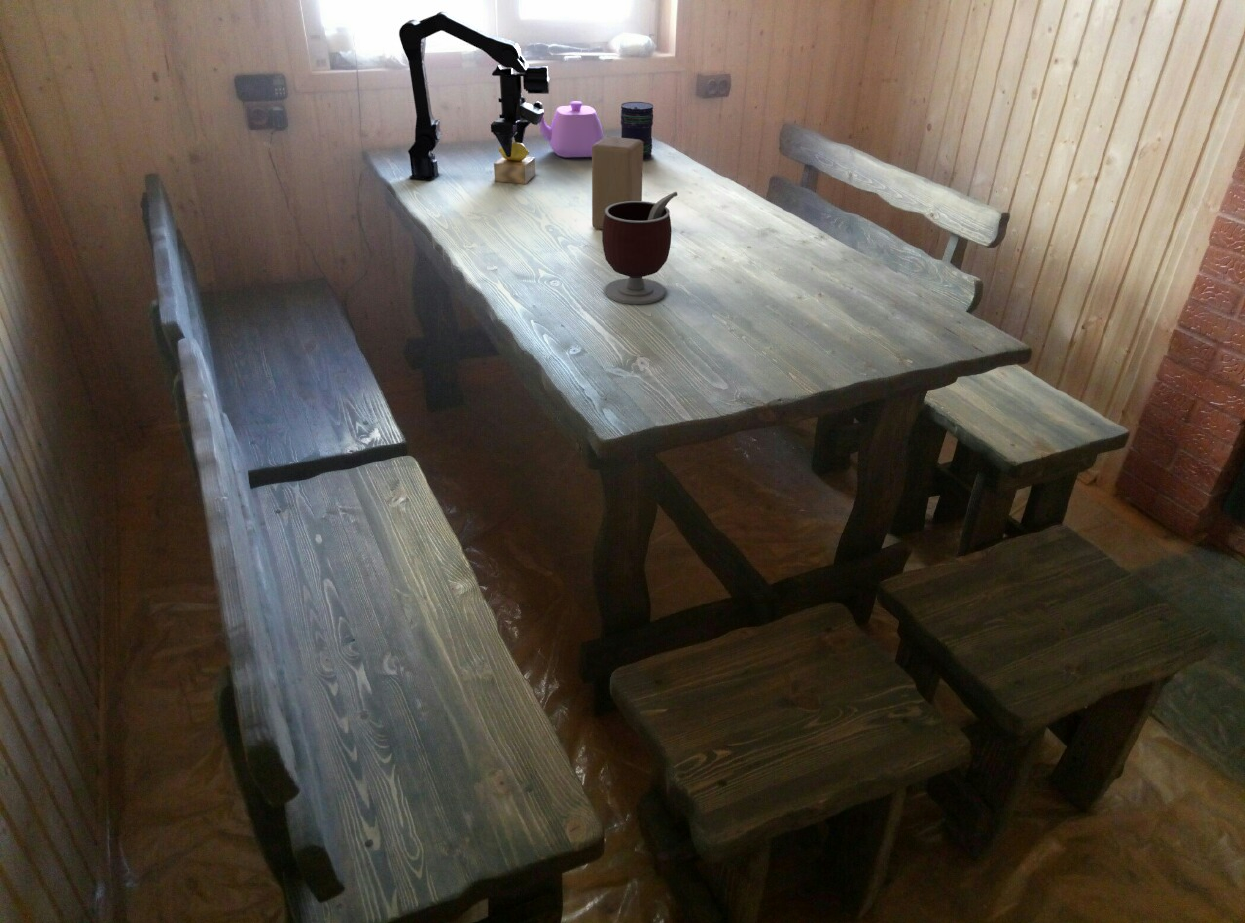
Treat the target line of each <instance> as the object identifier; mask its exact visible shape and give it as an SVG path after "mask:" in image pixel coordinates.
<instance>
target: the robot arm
mask: <svg viewBox="0 0 1245 923" xmlns="http://www.w3.org/2000/svg"><path fill="white" fill-rule="evenodd" d="M438 32H443V33H446V34H448V35H450V36H452V37H454V38H456V39H459V40H460V41H462V42H464V43H467V44H469V45H471V46H473V47H475V48H477V49H479V50H481V51H483V52H484V53H486V54H487V55H488V56H489V57H490V58H491V59H492V60H494V61H495V62H496V63H497V65H496V68H495V69H494V70H493V71H492V73H491V75H492V76H493V77H499V89H500V97H498V100H497V101H498V103H500V108H501V112H500V113H499V118H497V119H496V120H494V121H492V122H491V124H490V132H491V133H492V134H493V135H494V136H495V137H496V139H497V141H498V143H499V144H500V147H502V148H503V150H504V152H505V154H506V156H507V157H511V152H512V142H513V140H514V142H515V143H522V144H523V145H524V138H525V133H526V129H527V127H528V126H529V125H530V124H531V125H534V126H539V123H540V122H541V119H542V116H544V115H545V112H544V111H545V109H544V108H543V103H542V102H540V101H538V100H537V101H536V102H534V103H533V104H532V103H527V102H526V97H525V95H523V92H522V90H525V92H527V94H529V95H530V94H532V95H533V94H534V95H535V94H537V95H549V94H550V77H549V69H548V68H549V67H548V66H547V65H541V66H530V65H529V64H528V62H527V61H526V59H525V58H524V57H523V55H522V51H521V48H520V45H519V44H518V43H517V42H515V41H513V40H510V39H507V38H503V37H499V36H495V35H490V34H488V33H486V32H485V31H482V30H481V29H480V30H479V29H478V28H476V27H474V26H472V25H470V24H468V23H466V22H464V21H462V20H460V19H458V18H456V17H454V16H452V15H450V14H449V13H447V12H446V11H439V12H437V13H436V14H433V15H431V16H428V17H426V18H424V19H421V20H417V19H410V20H408V21H406V22H404V24H402V25H401V26H400V28H399V31H398V37H399V41H400V43H401V48H402V50H403V53H404V54H405V57H406V59H407V61H408V67H409V74H410V82H411V87H412V88H411V89H412V94H413V101H414V109H415V114H416V116H415V117H416V118H415V128H414V142H413V143H412V145H411V146H410V148H408V150H407V152H408V154H409V162H410V171H411V175H410V176H409V179H410V180H419V181H420V180H421V181H432V180H434V179H435V178H436V177H438V176H439V175H440V172H439V167H438V160H437V159H436V154H435V153H432V152H433V151H434V150H435V148H436V146H437V145H438V144H439V143H440V140H441V137H442V135H443V133H442V131H441V120H440V119H435V117H434V115H433V112H432V106H431V97H430V90H429V85H428V84H429V82H428V75H427V69H426V61H425V55H426V45H427V44H426V43H427V42H426V41H427V38H428V37H430V36H432V35H434V34H436V33H438ZM522 85H523V88H522Z"/></svg>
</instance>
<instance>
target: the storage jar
mask: <svg viewBox="0 0 1245 923" xmlns="http://www.w3.org/2000/svg"><path fill="white" fill-rule="evenodd" d="M620 125H621V126H620V127H621V129H620V130H621V131H620V132H621V133H620V135H621V136H620V138H629V139H638V140H641V141H643V162H644V161H648V160H651V159H652V157H653V156H652V150H653V138H652V135H653V134H652V132H653V130H652V129H653V125H654V104H652V103H650V102H644V101H628V102H627V101H626V102H623V103H621V104H620Z"/></svg>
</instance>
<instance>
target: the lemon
mask: <svg viewBox="0 0 1245 923" xmlns="http://www.w3.org/2000/svg"><path fill="white" fill-rule="evenodd" d="M498 152H499V153H500V155H501V158H502V157H503V158H505V159H506V160H512V161H522V160H524V159H525V158H526V157H528V155H530V150H528V149H527V147H526V145H524V143H523V144H522V143H515V141H512V152H511V157H507V156H506V154H505V152H504V150H503V148H502V146H500V148H498Z"/></svg>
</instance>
